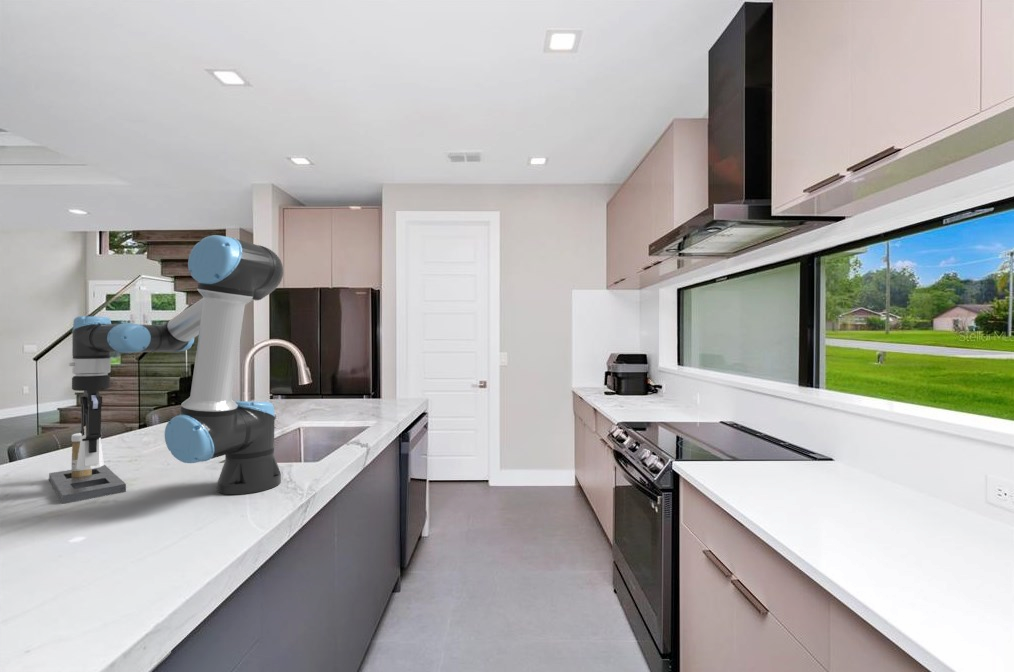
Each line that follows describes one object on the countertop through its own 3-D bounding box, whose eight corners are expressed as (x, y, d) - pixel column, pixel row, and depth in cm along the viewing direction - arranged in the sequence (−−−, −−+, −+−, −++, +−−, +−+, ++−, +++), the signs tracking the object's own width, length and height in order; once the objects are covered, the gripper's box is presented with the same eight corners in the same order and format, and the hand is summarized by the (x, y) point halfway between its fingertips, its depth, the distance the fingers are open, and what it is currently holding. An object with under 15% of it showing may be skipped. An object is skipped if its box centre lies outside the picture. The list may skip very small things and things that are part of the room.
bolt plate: (125, 491, 120) (125, 483, 120) (62, 503, 111) (62, 495, 111) (104, 471, 140) (104, 464, 140) (49, 480, 131) (49, 473, 131)
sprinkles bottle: (69, 481, 130) (70, 433, 130) (91, 477, 133) (91, 431, 133) (72, 484, 127) (72, 435, 127) (94, 480, 130) (94, 433, 130)
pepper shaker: (89, 464, 124) (90, 423, 124) (109, 464, 124) (110, 423, 124) (70, 470, 118) (70, 427, 119) (90, 470, 118) (91, 427, 118)
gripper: (67, 374, 124) (66, 460, 124) (77, 377, 113) (75, 472, 113) (104, 372, 130) (103, 455, 129) (116, 375, 119) (115, 466, 118)
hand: (90, 463), depth 121 cm, fingers closed on pepper shaker, 4 cm apart
